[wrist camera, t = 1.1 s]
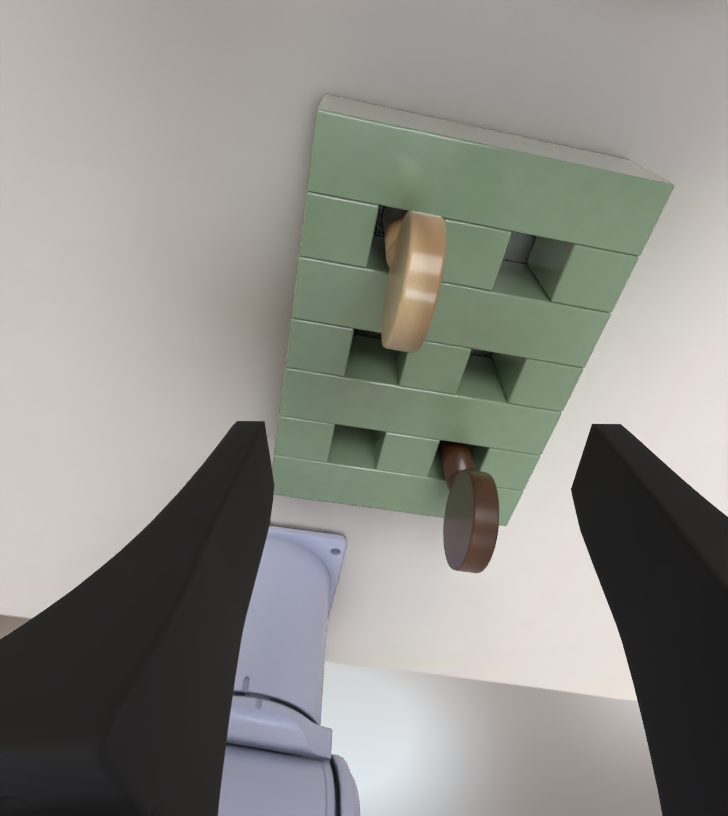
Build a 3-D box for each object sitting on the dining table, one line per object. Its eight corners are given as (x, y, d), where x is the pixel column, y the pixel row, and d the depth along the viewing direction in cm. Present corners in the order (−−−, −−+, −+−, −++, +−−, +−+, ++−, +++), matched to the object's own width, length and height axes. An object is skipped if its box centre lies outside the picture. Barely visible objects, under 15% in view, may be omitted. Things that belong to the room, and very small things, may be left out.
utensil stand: (491, 473, 27) (506, 526, 25) (279, 442, 26) (268, 494, 23) (629, 159, 19) (676, 184, 16) (324, 93, 18) (316, 108, 15)
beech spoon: (427, 162, 19) (461, 245, 12) (403, 261, 21) (421, 379, 14) (393, 155, 19) (409, 235, 12) (373, 255, 21) (376, 372, 14)
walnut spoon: (471, 382, 24) (513, 526, 17) (449, 444, 26) (478, 595, 20) (445, 378, 24) (476, 521, 17) (424, 440, 26) (445, 591, 19)
